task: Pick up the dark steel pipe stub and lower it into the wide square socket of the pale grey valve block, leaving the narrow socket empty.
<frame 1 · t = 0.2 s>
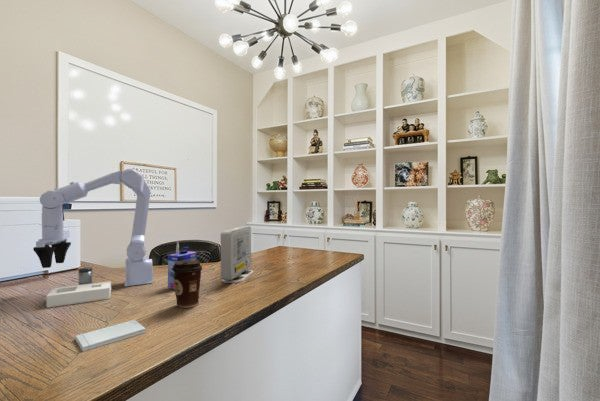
hand: (53, 265, 104), 10 cm above the table, tool pointing down, fingers open, 7 cm apart
coffee cup: (187, 305, 91), on the table
network device: (238, 277, 124), on the table
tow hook: (181, 266, 148), on the table
pipe stub: (85, 291, 107), on the table
valve block: (81, 298, 98), on the table
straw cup: (182, 286, 112), on the table
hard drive: (111, 339, 70), on the table
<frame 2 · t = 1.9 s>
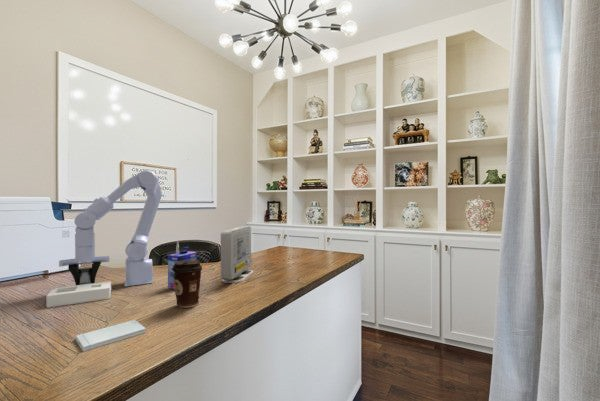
hand: (85, 284, 107), 2 cm above the table, tool pointing down, fingers closed on pipe stub, 4 cm apart
pipe stub: (85, 290, 107), on the table, touching gripper
everything else where it was.
when the fingers open (4 cm above the table, at t = 5.6 s): pipe stub drops 2 cm, resting in valve block.
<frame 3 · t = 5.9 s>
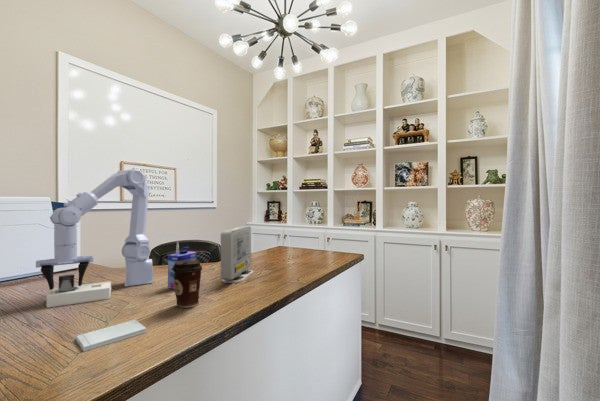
hand: (66, 287, 96), 4 cm above the table, tool pointing down, fingers open, 7 cm apart
pipe stub: (66, 300, 96), resting in valve block
everything else where it was.
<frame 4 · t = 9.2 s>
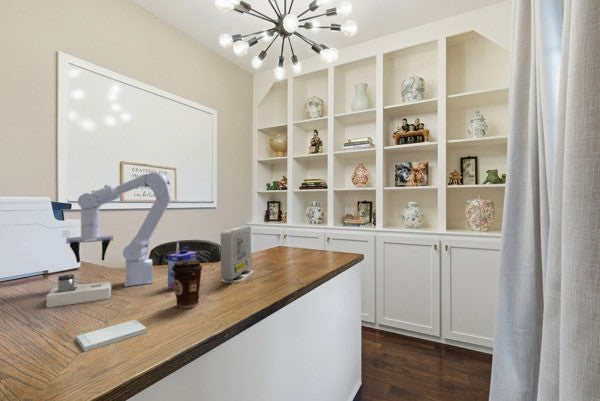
hand: (90, 261, 113), 9 cm above the table, tool pointing down, fingers open, 7 cm apart
nothing on the table moved.
at the end: pipe stub 0.2 cm from the target spot on the valve block, point 0.0 cm above the valve block's base; pipe stub tilted 0°; the gripper is holding nothing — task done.
